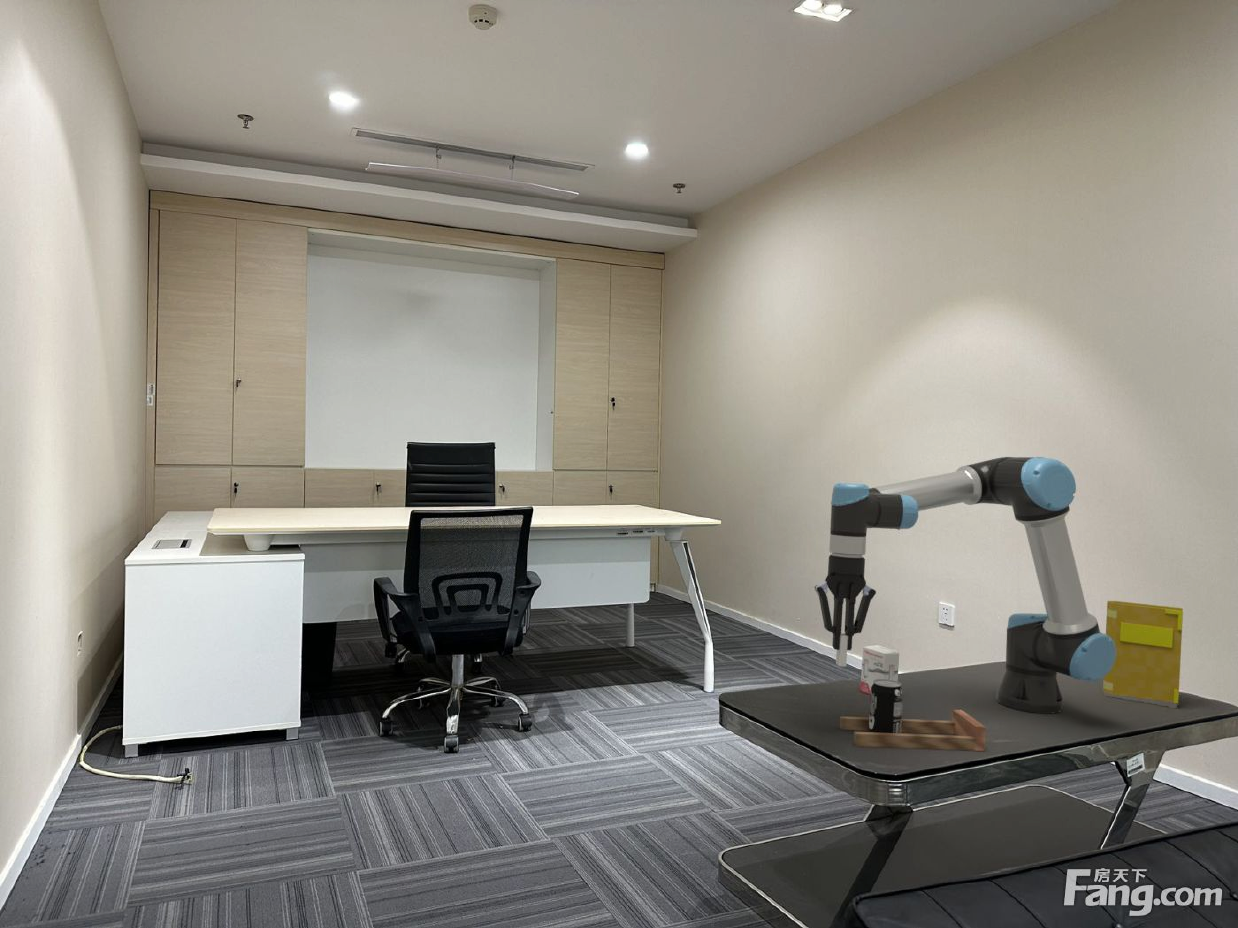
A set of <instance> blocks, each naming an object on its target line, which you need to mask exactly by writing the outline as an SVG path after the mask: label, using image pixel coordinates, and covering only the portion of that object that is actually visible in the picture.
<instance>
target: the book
mask: <svg viewBox="0 0 1238 928" xmlns="http://www.w3.org/2000/svg"><path fill="white" fill-rule="evenodd" d="M1183 618H1184V610H1183V607H1175V606H1165V605H1155V604H1148V603H1146V604H1145V603H1137V602H1128V601H1122V600H1121V601H1120V600H1119V601H1118V600H1107V605H1106V625H1105V634H1106V635H1107V636H1108V637H1110V638H1111V639H1112V640H1113V641H1114V643H1115V646H1116V658H1115V662H1114V664H1113V666H1112V668H1111V670H1110V671H1109V673H1108V674H1107V675H1106V676H1105V677H1103V678H1102V679H1103V680H1102V681H1103V683H1102V692H1103V691H1104V692H1105V693H1109V694H1112V695H1119V696H1131V697H1137V698H1143V699H1151V700H1161V701H1166V702H1174V703H1178V704H1179V696H1180V695H1179V693H1180V677H1181V676H1180V675H1181V673H1180V672H1181V660H1182V658H1181V657H1182V656H1181V654H1182V638H1183Z"/></svg>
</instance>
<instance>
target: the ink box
mask: <svg viewBox="0 0 1238 928" xmlns="http://www.w3.org/2000/svg"><path fill="white" fill-rule="evenodd" d="M899 660H900V652H899V651H897V650H895V649H891V648H889V647H885V646H882V645H878V644H874V645H868V646H867V645H866V646H863V647H862V660H861V674H860V676H861V677H860V692H863V693H864V694H867V695H869V696H871V687H872V685H873V683H874V682H873V681H874V680H876V679H888V680H894V681H897V682H899V667H900V666H899V665H900V661H899Z"/></svg>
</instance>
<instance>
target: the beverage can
mask: <svg viewBox="0 0 1238 928" xmlns="http://www.w3.org/2000/svg"><path fill="white" fill-rule="evenodd" d="M873 682H874V683H873V685H872V687H871V695H870V696H869V697H870V701H869V702H870V703H869V717H868V718H869V731H868V732H876V733H901V734H902V732H901V722H902V719H903V699H904V698H903V697H904V690H903V688H902V683H901V682H899V681H898V682H897V681H894V680H888V679H876V680H874V681H873Z"/></svg>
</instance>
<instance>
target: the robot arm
mask: <svg viewBox="0 0 1238 928" xmlns="http://www.w3.org/2000/svg"><path fill="white" fill-rule="evenodd" d="M1076 491H1077V484H1076V479H1075V477H1074V475H1073V472H1072V471H1071V469H1070V468H1069V466H1067V465H1066V464H1065V463H1063V462H1062V461H1061V460H1058V459H1054V458H1048V457H1044V456H1035V457H1033V456H1032V457H1031V456H1030V457H1027V456H1026V457H1023V456H1022V457H1020V456H1017V457H1016V456H1015V457H1013V456H1001V457H996V458H992V459H987V460H984V461H980V462H975V463H972V464H966V465H961V466H959V467H958V468H957V469H956V471H953V472H948V473H943V474H938V475H932V476H926V477H922V478H921V477H920V478H916V479H912V480H907V481H905V480H904V481H901V482H897V483H896V482H895V483H890V484H885V485H880V486H876V487H871V488H870V487H869V486H868V485H867V484H865V483H850V482H848V483H847V482H838V483H835V484H834V485H833V488H832V495H831V501H830V505H831V507H830V508H831V510H830V534H829V535H830V536H829V548H828V549H829V553H831V554H829V556H828V564H827V565H828V566H827V567H828V568H827V576H826V578H825V579H824V580H825V581H824V582H823V583H821V584H819V585H818V584H817V585H815V586H814V591H815V592H816V594H817V596H818V599H819V605H820V610H821V615H822V621H823V627H824V629H825V630H826V631H827V632H829V633H832V648H833V650H836V651H835V652H836V653H835V664H836V665H837V666H838V667H845V668H847V662H848V661H847V658H848V651H851V650H852V649H853V648H852V647H853V637H854V635H856V634H861V633H862V632H863V629H864V625H865V621H866V617H867V615H868V611H869V607H870V605H871V601H872V600H873V598H874V597H875V596H876V594H877V591H876V590H875V589H874V588H871V587H870V586H868V584H867V581H866V579H865V569H866V568H865V565H866V559H865V557H864V555H866V551H867V550H866V548H867V544H866V543H867V531H868V529H883V530H884V529H886V530H887V529H890V530H892V529H893V530H898V531H900V530H907V529H910V528H913V527H914V526H915V525H916V523H917V522H918V519H919V512H921V511H926V510H929V509H930V510H931V509H935V508H936V509H937V508H941V507H946V506H951V505H956V504H961V503H963V504H965V505H968V506H972V505H976V504H978V505H979V504H990V505H991V504H994V505H1001V506H1002V505H1003V506H1008V507H1009V506H1011V507H1012V511H1013V514H1014V518H1015V521H1017V522H1019V523H1021V524H1022V525H1024V529H1025V534H1026V537H1027V540H1028V542H1027V543H1028V546H1029V549H1030V552H1031V557H1032V561H1033V564H1034V568H1035V569H1034V570H1035V572H1036V576H1037V581H1038V584H1039V588H1040V592H1041V597H1042V600H1043V603H1044V608H1045V612H1046V613H1030V612H1029V613H1021V612H1020V613H1013V614H1011V615H1010V616H1009V617H1008V620H1007V628H1006V645H1005V649H1006V650H1005V651H1006V652H1005V653H1006V654H1005V670H1004V674H1003V676H1002V679H1001V680H1000V683H999V685H998V688H997V691H996V701H997V703H999V704H1000V705H1002V706H1006V707H1008V708H1011V709H1014V710H1018V711H1024V712H1029V713H1036V714H1037V713H1038V714H1053V713H1052V712H1058V713H1060V712H1059V711H1061V712H1063V711H1062V710H1064V700H1063V696H1062V693H1061V688H1060V686H1059V682H1058V677H1057V675H1058V674H1062V675H1065V676H1067V677H1068V676H1069V677H1071V678H1073V679H1075V680H1076V681H1077V680H1078V681H1079V680H1081V681H1085V682H1089V683H1090V682H1097V681H1099V680H1101V679H1104V677H1105V676H1106V675H1107V674H1108V673H1109V671H1110V670H1111V668H1112V666H1113V664H1114V662H1115V658H1116V646H1115V643H1114V641H1113V640H1112V639H1111V638H1110V637H1108V636H1107V635H1106V633H1103V632H1101V630H1100V627H1099V623H1098V622H1099V621H1098V619H1097V618H1096V617H1097V616H1094V615H1093V614H1092V613H1089V612H1088V607H1087V603H1086V601H1085V596H1084V592H1083V587H1082V583H1081V579H1080V575H1079V571H1078V568H1077V563H1076V559H1075V555H1074V551H1073V547H1072V543H1071V539H1070V535H1069V531H1068V527H1067V526H1068V525H1067V524H1066V519H1065V518H1066V516H1067V515H1068V514H1069V512H1070V509H1071V508H1070V505H1071V504H1072V502H1073V500H1074V499H1075V496H1074V494H1076V493H1077V492H1076ZM828 590H829V591H830V592H831V595H832V596H833V615H831V610H830V605H829V600H828V599H829V598H828V596H827V593H828ZM860 593H862V597H861V599H860V602H859V605H858V609H857V613H856V615H855V609H856V608H855V606H856V599H857V597H858V596H859V595H860ZM844 600H845V612H844V613H845V615H844V633H842V627H843V626H842V625H843V624H842V623H843V622H842V621H843V609H844V607H843V605H844ZM832 616H833V617H832ZM855 616H856V617H855Z"/></svg>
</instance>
